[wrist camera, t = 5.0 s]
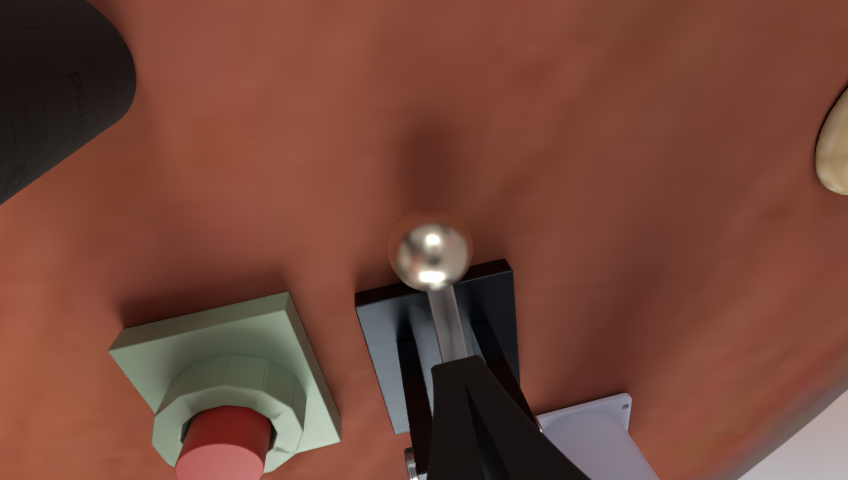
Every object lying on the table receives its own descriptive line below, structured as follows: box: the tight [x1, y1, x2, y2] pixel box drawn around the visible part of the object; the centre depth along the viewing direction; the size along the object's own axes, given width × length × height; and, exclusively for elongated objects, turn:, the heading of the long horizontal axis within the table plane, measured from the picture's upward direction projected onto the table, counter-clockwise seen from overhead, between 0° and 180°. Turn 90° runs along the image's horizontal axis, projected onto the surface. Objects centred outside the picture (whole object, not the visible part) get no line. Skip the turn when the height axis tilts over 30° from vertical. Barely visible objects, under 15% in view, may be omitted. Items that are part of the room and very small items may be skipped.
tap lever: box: [388, 206, 487, 480], centre depth 17 cm, size 12×4×4 cm, turn 9°
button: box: [175, 405, 271, 480], centre depth 19 cm, size 4×4×2 cm
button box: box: [108, 292, 341, 473], centre depth 21 cm, size 10×8×4 cm
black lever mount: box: [354, 259, 544, 480], centre depth 20 cm, size 10×8×8 cm
